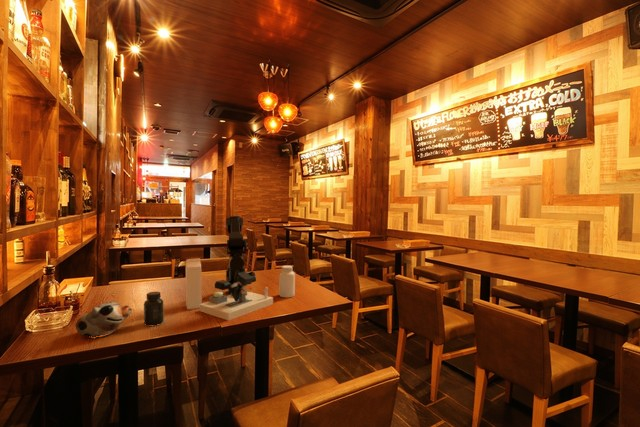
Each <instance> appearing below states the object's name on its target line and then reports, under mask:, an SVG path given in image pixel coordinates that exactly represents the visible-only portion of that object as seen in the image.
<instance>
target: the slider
mask: <svg viewBox="0 0 640 427" xmlns="http://www.w3.org/2000/svg"><path fill="white" fill-rule="evenodd" d="M245 301H246V291H241V293H240V296H239V299H238V302H245Z"/></svg>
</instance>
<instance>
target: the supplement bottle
mask: <svg viewBox="0 0 640 427" xmlns="http://www.w3.org/2000/svg"><path fill="white" fill-rule="evenodd" d="M161 297H162V296H161V292H160V291H149V292H148V293H146V300H145V301H144V302H143V324H144V325H145V324H146V325H156V326H158V325H157V324H160V325H162V324H163V323H162V322H164V319H165V318H164V316H165V315H164V300H163V299H162V298H161ZM161 323H162V324H161ZM146 325H145V326H146Z"/></svg>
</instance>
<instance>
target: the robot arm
mask: <svg viewBox="0 0 640 427" xmlns="http://www.w3.org/2000/svg"><path fill="white" fill-rule="evenodd" d="M225 227H226V228H227V229H226V231H227V233H228V239H227V240H226V255H229V262H228V265H227V270H225V279H220V280H217V281H215V283H214V289H218V290H221V291H225V293H226V294H229V295H231V294H232V296H233V298H234V300H235V301H238V299H239V296H240V293H241V290H242V288H243V289H244V288H245V287H246V286H248V285H252V283H255V282H257V277H256V272H254V271H250V272H246V267H244V266H245V261H244V258H243V257H244V255H243V254H245V255H246V253H247V252H248V246H247V241H246V239H245V238H244V234H242V233H241V232H242V227H244V218H243V217H241V216H239V215H230V216H229V217H226V218H225Z"/></svg>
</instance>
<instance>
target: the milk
mask: <svg viewBox="0 0 640 427" xmlns="http://www.w3.org/2000/svg"><path fill="white" fill-rule="evenodd" d="M185 262H186V263H185V306H186V308H187V310H193V309H200V304H203V302H202V301H203V299H202V297H203V295H202V294H203V293H202V290H203V289H202V262H201V258H200V257H199V258H197V257H195V258H187V259H186V260H185Z"/></svg>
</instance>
